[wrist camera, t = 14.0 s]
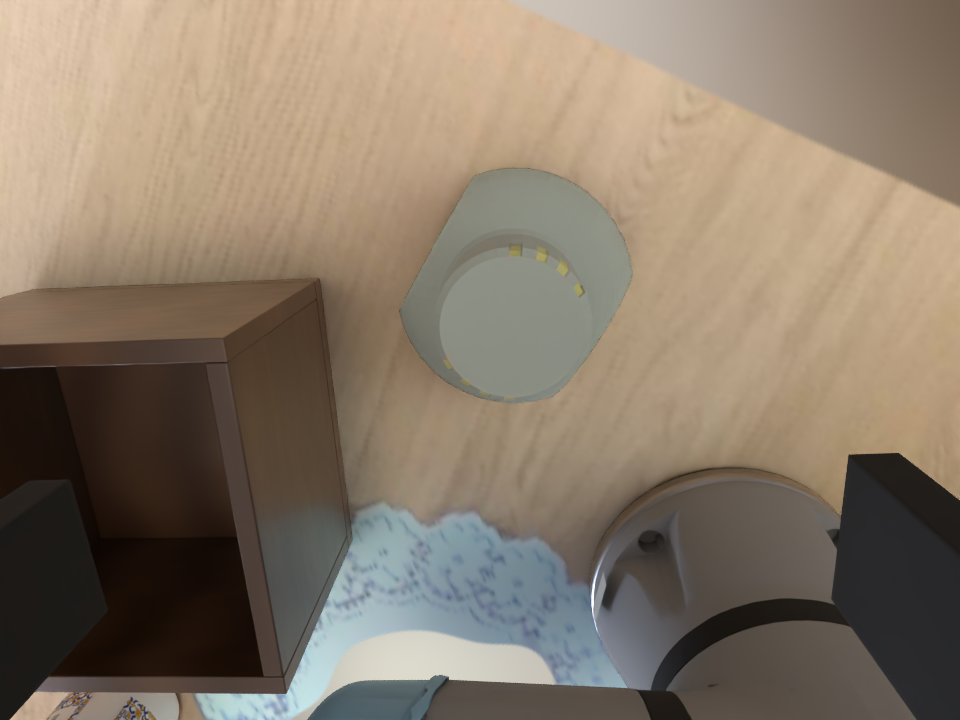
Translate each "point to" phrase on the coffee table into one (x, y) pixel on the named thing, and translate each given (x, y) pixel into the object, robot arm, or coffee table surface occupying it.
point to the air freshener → (517, 286)
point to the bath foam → (117, 706)
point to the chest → (184, 472)
